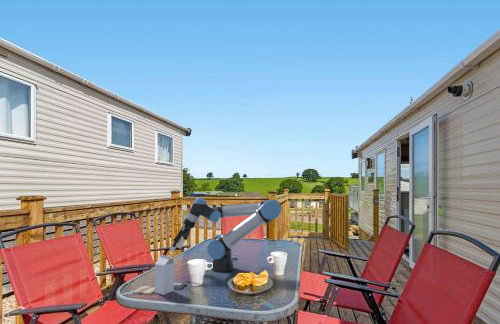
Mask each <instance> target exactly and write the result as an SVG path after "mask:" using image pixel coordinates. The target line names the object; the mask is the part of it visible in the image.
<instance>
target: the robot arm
mask: <svg viewBox="0 0 500 324" xmlns="http://www.w3.org/2000/svg"><path fill="white" fill-rule="evenodd" d="M207 203H208V201H207V200H205V198H204V199H203V198H202V197H196V198H195V200H194V201H193V203H192V205H191V207H190V208H189V211H188V212H187V214H186V217H185V218H184V220H183V224H184V226H182V227H181V228H180V230H179V232H178V233H177V234H176V236H175V238H173V243H172V245H171V246H170V248H169V251H170V252H172V253H174V252H175V250H176V248H178V249H180V250H181V249H182V248H183V247H184V246H183V245H185V242H186V241H188V237H189V235H190V233H191V231H192V229H194V227H195V225H196V224H197V222H198V220H199V218H200V216H201V217H203V218H205V219H207V220H209V221H210V222H211V223H214V224H216V223H218V222H219V220H220V218H221V219H222V218H232V217H243V216H244V217H246V216H249V217H247V218H246V219H244V220H243V221H242V222H241V223H239V224H237V226H235V227H233V228H232V229H231V230H229V231H228V232H227V233H222V234H215V235H214V239H213V240H211V241H210V242H209V243H208V245H207V248H206V249H207V250H206V252H207V255H208V256H209V258H211V259H212V262H211V267H212V263H213V268H212V269H211V270H212V271H213V272H216V273H218V272H219V273H225V272H226V273H227V272H231V271H233V270H234V269H235V268H234V267H235V266H234V263H233V258H232V250H233V249H234V246H235V245H236V244H238V243H239V242H240V241H242V240H243V239H244V238H246V237H247V236H248V235H251V234H252V233H253V232H255V230H257V229H259V227H261V226H262V225H267V224H269V223H271V222H272V221H273V220H275V219H277V218H278V217H279V216H280V214H281V212H282V206H281V203H280V201H279V200H278V199H275V198H273V199H268V200H264V201H259V202H258V203H257V202H256V203H247V204H236V205H226V206H225V205H224V206H214V207H211V206H209V205H208V204H207ZM211 267H210V268H211Z"/></svg>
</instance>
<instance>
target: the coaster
mask: <svg viewBox="0 0 500 324" xmlns="http://www.w3.org/2000/svg"><path fill="white" fill-rule="evenodd" d="M132 294H136V295H149V296H151V295H152V294H155V293H154V287H153V286H149V285H142V286H140V287H138V288H136V289H135V290H133V291H132Z"/></svg>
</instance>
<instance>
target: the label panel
mask: <svg viewBox="0 0 500 324" xmlns="http://www.w3.org/2000/svg"><path fill="white" fill-rule="evenodd" d="M186 285H187V282H184V281H182V282H181V281H174V290H182V289H183V288H184V287H186ZM153 287H154V285H153Z"/></svg>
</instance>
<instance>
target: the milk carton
mask: <svg viewBox="0 0 500 324" xmlns="http://www.w3.org/2000/svg"><path fill="white" fill-rule="evenodd" d="M174 282H175V262H174V260H172V259H171V255H164V254H160V256H159V258H158V260H156V262H155V263H154V293H153V294H159V295H162V296H165V295H167V294H169V293H173V292H174V290H175V289H174Z"/></svg>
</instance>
